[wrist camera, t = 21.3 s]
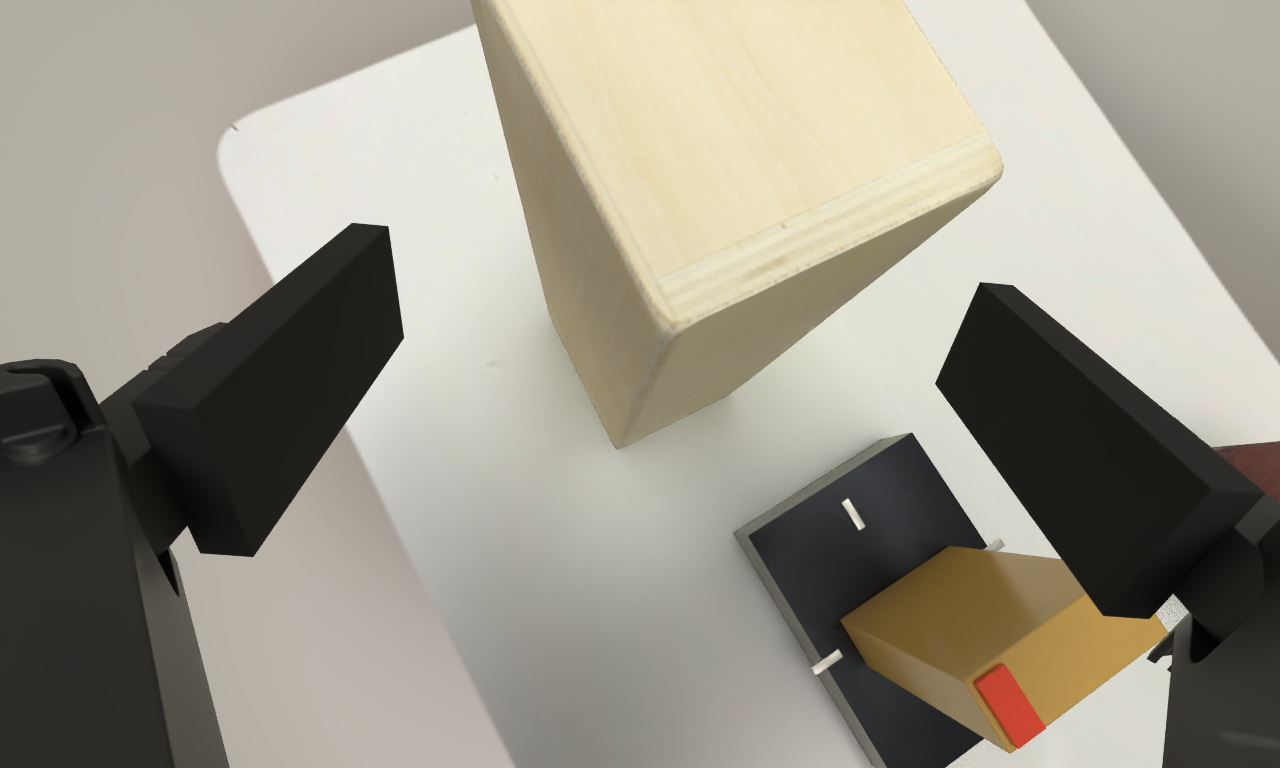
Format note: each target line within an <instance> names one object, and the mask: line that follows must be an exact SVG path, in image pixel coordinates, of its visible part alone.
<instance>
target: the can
mask: <svg viewBox="0 0 1280 768" xmlns="http://www.w3.org/2000/svg"><path fill="white" fill-rule="evenodd" d="M1212 449H1214V450H1215V451H1216V452H1217V453H1218V454H1219V455H1220V456H1222V457H1223V458H1225V459H1226V460H1227V461H1228V462H1229V463H1231V464H1232V465H1233V466H1234V467H1236V468H1237V469H1238V470H1239V471H1240V472H1242V473H1243V474H1244V475H1245V476H1246V477H1248V478H1249V479H1250V480H1251V481H1253V482H1254V483H1255V484H1256V485H1257V486H1259V487H1260V488H1261V489H1262V490H1264V491H1265V492H1266V493H1267V494H1268V495H1270V496H1271V497H1272V498H1273V499H1275V500H1276V501H1277V502H1278V503H1279V504H1280V441H1278V442H1267V443H1256V444H1245V445H1234V446H1223V447H1212Z"/></svg>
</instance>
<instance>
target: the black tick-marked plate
mask: <svg viewBox="0 0 1280 768" xmlns="http://www.w3.org/2000/svg"><path fill="white" fill-rule="evenodd" d="M734 535H735V536H736V538H737V540H738V541H739V543H740V545H741V546H742V548H743V550H744V551H745V553H746V555H747V556H748V558H749V560H750V561H751V563H752V565H753V566H754V568H755V570H756V571H757V573H758V575H759V576H760V578H761V580H762V581H763V583H764V585H765V586H766V588H767V590H768V591H769V593H770V595H771V596H772V598H773V600H774V601H775V603H776V605H777V606H778V608H779V610H780V612H781V613H782V615H783V617H784V618H785V620H786V622H787V623H788V625H789V627H790V628H791V630H792V632H793V633H794V635H795V637H796V638H797V640H798V642H799V643H800V645H801V647H802V648H803V650H804V652H805V653H806V655H807V657H808V658H809V660H810V662H811V663H812V666H811V667H810V668H811V669H812V671H813V673H814V674H815V675H819V677H820V678H821V680H822V682H823V683H824V685H825V687H826V688H827V690H828V692H829V693H830V695H831V697H832V698H833V700H834V702H835V704H836V705H837V707H838V709H839V710H840V712H841V714H842V715H843V717H844V719H845V720H846V722H847V724H848V725H849V727H850V729H851V730H852V732H853V734H854V735H855V737H856V739H857V740H858V742H859V744H860V745H861V747H862V749H863V750H864V752H865V754H866V755H867V757H868V759H869V760H870V762H871V764H872V765H873V767H875V768H945V767H947V766H948V765H949V764H951V763H952V762H953V761H955V760H956V759H957V758H959V757H960V756H961V755H963V754H964V753H965V752H967V751H968V750H969V749H971V748H972V747H974V746H975V745H976V744H978V743H979V742H980V741H982V740H983V739H984V738H983V737H982V736H980V735H978V734H977V733H975V732H974V731H972V730H970V729H969V728H967V727H965V726H964V725H962V724H961V723H959V722H957V721H956V720H954V719H953V718H951V717H949V716H948V715H946V714H944V713H943V712H941V711H940V710H938V709H936V708H935V707H933V706H931V705H930V704H928V703H927V702H925V701H923V700H922V699H920V698H919V697H917V696H915V695H914V694H912V693H910V692H909V691H907V690H906V689H904V688H902V687H901V686H899V685H897V684H896V683H894V682H893V681H891V680H889V679H888V678H886V677H884V676H883V675H881V674H880V673H878V672H876V671H875V670H873V669H872V668H870V667H868V666H867V664H866V662H865V661H864V659H863V658H862V656H861V654H860V653H859V651H858V649H857V648H856V646H855V644H854V643H853V641H852V639H851V638H850V636H849V635H848V633H847V631H846V630H845V628H844V626H843V625H842V623H841V621H840V619H841V618H843V617H844V616H846V615H847V614H849V613H850V612H852V611H853V610H855V609H856V608H858V607H859V606H861V605H862V604H864V603H865V602H867V601H868V600H870V599H871V598H873V597H874V596H876V595H877V594H879V593H880V592H882V591H883V590H885V589H886V588H888V587H889V586H891V585H892V584H893V583H895V582H896V581H898V580H899V579H901V578H902V577H904V576H905V575H907V574H908V573H910V572H911V571H913V570H914V569H916V568H917V567H919V566H920V565H922V564H923V563H925V562H926V561H928V560H929V559H931V558H932V557H934V556H935V555H937V554H938V553H940V552H941V551H943V550H944V549H945V548H947V547H948V546H956V547H964V548H973V549H981V550H989V551H998V550H999V549H1001V548H1002V547H1004V546H1005V545H1004V544H1003V542H1002V541H1001V539H999V538H998V539H996V540H995V541H993V542H992V543H991V544H989V545H988V546H987V545H986V543H985V542H984V540H983V539H982V537H981V536H980V534H979V533H978V531H977V530H976V528H975V527H974V525H973V524H972V522H971V521H970V519H969V518H968V516H967V515H966V513H965V512H964V510H963V509H962V507H961V506H960V504H959V503H958V501H957V500H956V498H955V497H954V495H953V493H952V492H951V490H950V489H949V487H948V486H947V484H946V483H945V481H944V480H943V478H942V477H941V475H940V474H939V472H938V471H937V469H936V468H935V466H934V465H933V463H932V462H931V460H930V459H929V457H928V456H927V454H926V453H925V451H924V450H923V448H922V447H921V445H920V444H919V442H918V441H917V439H916V438H915V436H914V435H913V433H907V434H903V435H899V436H894V437H890V438H885V439H882V440H880V441H878V442H877V443H875V444H874V445H872V446H871V447H869V448H867V449H866V450H864V451H863V452H861V453H859V454H858V455H856V456H855V457H853V458H851V459H850V460H848V461H847V462H845V463H843V464H842V465H840V466H839V467H837V468H836V469H834V470H832V471H831V472H829V473H828V474H826V475H824V476H823V477H821V478H820V479H818V480H816V481H815V482H813V483H812V484H810V485H808V486H807V487H805V488H804V489H802V490H801V491H799V492H797V493H796V494H794V495H793V496H791V497H789V498H788V499H786V500H785V501H783V502H781V503H780V504H778V505H777V506H775V507H773V508H772V509H770V510H769V511H767V512H766V513H764V514H762V515H761V516H759V517H758V518H756V519H754V520H753V521H751V522H750V523H748V524H746V525H745V526H743V527H742V528H740V529H738V530H737V531H735V532H734Z"/></svg>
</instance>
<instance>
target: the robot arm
mask: <svg viewBox="0 0 1280 768" xmlns="http://www.w3.org/2000/svg"><path fill="white" fill-rule="evenodd" d="M403 339H404V334H403V327H402V320H401V313H400V305H399V298H398V291H397V284H396V277H395V270H394V263H393V256H392V249H391V242H390V235H389V227H388V226H379V225H369V224H358V223H351V224H350V225H349V226H348V227H346V228H345V229H344V230H343V231H342V232H340V233H339V234H338V235H337V236H335V237H334V238H333V239H332V240H330V241H329V242H328V243H327V244H325V245H324V246H323V247H322V248H320V249H319V250H318V251H317V252H316V253H314V254H313V255H312V256H311V257H309V258H308V259H307V260H306V261H304V262H303V263H302V264H301V265H299V266H298V267H297V268H296V269H294V270H293V271H292V272H291V273H290V274H288V275H287V276H286V277H285V278H283V279H282V280H281V281H280V282H278V283H277V284H276V285H275V286H273V287H272V288H271V289H270V290H268V291H267V292H266V293H265V294H264V295H263V296H261V297H260V298H259V299H257V300H256V301H255V302H254V303H252V304H251V305H250V306H249V307H248V308H246V309H245V310H244V311H243V312H241V313H240V314H239V315H238V316H236V317H235V318H234V319H233V320H231V321H230V322H229V323H222V322H219V323H217V324H214V325H212V326H210V327H207V328H205V329H203V330H201V331H198V332H196V333H194V334H191V335H189V336H187V337H186V338H185V339H183V340H182V341H181V342H180V343H178V344H177V345H176V346H174V347H173V348H172V349H170V350H169V351H168V352H167V355H166V356H161V357H160V358H159V359H157V360H156V361H155V362H153V363H152V364H151V365H150V366H149V369H148V370H143V371H142V372H140V373H139V374H138V375H136V376H135V377H134V378H133V379H131V380H130V381H129V382H127V383H126V384H125V385H123V386H122V387H121V388H119V389H118V390H117V391H116V392H114V393H113V394H112V395H110V396H109V397H108V398H106V399H105V400H104V401H102V402H101V403H100V404H99V405H98V403H97V401H96V399H95V397H94V395H93V393H92V391H91V389H90V387H89V385H88V383H87V381H86V379H85V378H84V375H83V373H82V372H81V370H80V369H79V368H78V367H77V365H76V364H73V363H69V362H66V361H63V360H59V359H56V360H55V359H32V360H24V361H18V362H10V363H5V364H1V365H0V768H230V767H229V764H228V760H227V756H226V752H225V748H224V744H223V740H222V736H221V732H220V729H219V725H218V720H217V717H216V713H215V709H214V705H213V701H212V697H211V693H210V689H209V685H208V682H207V677H206V673H205V670H204V666H203V662H202V658H201V654H200V650H199V646H198V642H197V638H196V634H195V630H194V626H193V623H192V619H191V615H190V611H189V607H188V603H187V599H186V595H185V591H184V587H183V584H182V579H181V576H180V572H179V568H178V564H177V561H176V559H175V557H174V555H173V553H172V551H171V549H170V545H171V544H172V543H173V542H174V541H175V539H176V538H177V537H178V536H179V535H180V534H181V532H182V531H183V530H184V529H185V528H186V527H187V526H188V528H189V530H190V532H191V534H192V536H193V539H194V541H195V543H196V545H197V547H198V549H199V551H200V553H204V554H217V555H233V556H247V557H254V555H255V554H256V552H257V551H258V550H259V548H260V547H261V545H262V544H263V542H264V541H265V539H266V538H267V536H268V535H269V534H270V532H271V531H272V529H273V528H274V526H275V525H276V523H277V522H278V520H279V519H280V518H281V516H282V515H283V513H284V512H285V510H286V509H287V507H288V506H289V504H290V503H291V502H292V500H293V499H294V497H295V496H296V494H297V493H298V491H299V490H300V488H301V487H302V485H303V484H304V483H305V481H306V480H307V478H308V477H309V475H310V474H311V472H312V471H313V470H314V468H315V466H316V465H317V463H318V462H319V461H320V459H321V458H322V456H323V455H324V454H325V452H326V451H327V449H328V448H329V446H330V445H331V443H332V442H333V440H334V439H335V438H336V436H337V434H338V433H339V431H340V430H341V429H342V427H343V426H344V424H345V423H346V422H347V420H348V419H349V417H350V416H351V414H352V413H353V411H354V410H355V408H356V407H357V406H358V404H359V403H360V401H361V400H362V398H363V397H364V395H365V394H366V393H367V391H368V390H369V388H370V387H371V385H372V384H373V382H374V381H375V379H376V378H377V377H378V375H379V374H380V372H381V371H382V369H383V368H384V366H385V365H386V363H387V362H388V361H389V359H390V358H391V356H392V355H393V353H394V352H395V350H396V349H397V347H398V346H399V345H400V343H401V342H402V340H403ZM935 384H936V386H937V387H938V388H939V390H940V391H941V393H942V394H943V395H944V397H945V398H946V400H947V401H948V402H949V404H950V405H951V406H952V408H953V409H954V411H955V412H956V413H957V415H958V416H959V418H960V419H961V420H962V422H963V423H964V424H965V426H966V427H967V429H968V430H969V431H970V433H971V434H972V436H973V437H974V438H975V440H976V441H977V442H978V444H979V445H980V447H981V448H982V449H983V451H984V452H985V453H986V455H987V456H988V458H989V459H990V460H991V462H992V463H993V465H994V466H995V467H996V469H997V470H998V471H999V473H1000V474H1001V476H1002V477H1003V478H1004V480H1005V481H1006V483H1007V484H1008V485H1009V487H1010V488H1011V489H1012V491H1013V492H1014V494H1015V495H1016V496H1017V498H1018V499H1019V501H1020V502H1021V503H1022V505H1023V506H1024V507H1025V509H1026V510H1027V512H1028V513H1029V514H1030V516H1031V517H1032V519H1033V520H1034V521H1035V523H1036V524H1037V525H1038V527H1039V528H1040V530H1041V531H1042V532H1043V534H1044V535H1045V537H1046V538H1047V539H1048V541H1049V542H1050V543H1051V545H1052V546H1053V548H1054V549H1055V550H1056V552H1057V553H1058V555H1059V556H1060V557H1061V559H1062V560H1063V561H1064V563H1065V564H1066V566H1067V567H1068V568H1069V570H1070V571H1071V573H1072V574H1073V575H1074V577H1075V578H1076V579H1077V581H1078V582H1079V584H1080V585H1081V586H1082V588H1083V589H1084V591H1085V592H1086V593H1087V595H1088V596H1089V597H1090V599H1091V600H1092V602H1093V603H1094V604H1095V606H1096V607H1097V608H1098V610H1099V611H1100V613H1101V614H1102V615H1103V616H1109V617H1123V618H1138V619H1150V618H1151V617H1152V616H1153V615H1154V614H1155V613H1156V612H1157V610H1158V609H1159V608H1160V607H1161V606H1162V605H1163V604H1164V603H1165V602H1166V601H1167V600H1168V599H1169V597H1170V596H1171V595H1172V594H1174V595H1175V596H1176V597H1177V598H1178V599H1179V600H1180V602H1181V603H1182V604H1183V605H1184V606H1185V607H1186V609H1187V610H1188V611H1189V613H1188V614H1187V615H1186V616H1185V617H1184V618H1183V619H1182V620H1181V621H1180V622H1179V623H1178V624H1177V625H1176V626H1175V627H1174V628H1173V629H1172V630H1171V631H1170V632H1169V634H1168V635H1167V636H1166V637H1165V638H1164V639H1163V640H1162V641H1161V642H1160V643H1159V644H1158V645H1157V646H1156V647H1155V648H1154V649H1153V650H1152V651H1151V653H1150V654H1149V656H1148V658H1147V659H1148V660H1150V661H1151V662H1153V663H1156V662H1157V661H1158V660H1159V659H1160V658H1161V657H1162V656H1167V655H1172V665H1171V666H1170V667H1169V668H1168V669H1167V670H1168V671H1169V672H1171V677H1170V688H1169V699H1168V710H1167V721H1166V732H1165V743H1164V754H1163V765H1162V768H1280V504H1279V503H1278V502H1277V501H1276V500H1275V499H1273V498H1272V497H1271V496H1270V495H1268V494H1267V493H1266V492H1265V491H1264V490H1262V489H1261V488H1260V487H1259V486H1257V485H1256V484H1255V483H1254V482H1253V481H1251V480H1250V479H1249V478H1248V477H1246V476H1245V475H1244V474H1243V473H1242V472H1240V471H1239V470H1238V469H1237V468H1236V467H1234V466H1233V465H1232V464H1231V463H1229V462H1228V461H1227V460H1226V459H1225V458H1223V457H1222V456H1220V455H1219V454H1218V453H1217V452H1216V451H1215V450H1214V449H1212V448H1211V447H1210V446H1209V445H1207V444H1206V443H1205V442H1204V441H1202V440H1201V439H1200V438H1198V436H1196V435H1195V434H1194V433H1193V432H1192V431H1190V430H1189V429H1188V428H1187V427H1186V426H1184V425H1183V424H1182V423H1181V422H1179V421H1178V420H1177V419H1176V418H1174V417H1173V416H1172V415H1170V414H1169V413H1168V412H1167V411H1165V410H1164V409H1163V408H1162V407H1161V406H1159V405H1158V404H1157V403H1156V402H1155V401H1153V400H1152V399H1151V398H1150V397H1148V396H1147V395H1146V394H1145V393H1144V392H1142V391H1141V390H1140V389H1139V388H1137V387H1136V386H1135V385H1134V384H1133V383H1131V382H1130V381H1129V380H1128V379H1126V378H1125V377H1124V376H1123V375H1122V374H1120V373H1119V372H1118V371H1117V370H1116V369H1114V368H1113V367H1112V366H1111V365H1109V364H1108V363H1107V362H1106V361H1105V360H1103V359H1102V358H1101V357H1100V356H1098V355H1097V354H1096V353H1095V352H1094V351H1092V350H1091V349H1090V348H1089V347H1088V346H1086V345H1085V344H1084V343H1083V342H1081V341H1080V340H1079V339H1078V338H1077V337H1075V336H1074V335H1073V334H1072V333H1070V332H1069V331H1068V330H1067V329H1066V328H1064V327H1063V326H1062V325H1061V324H1059V323H1058V322H1057V321H1056V320H1055V319H1053V318H1052V317H1051V316H1050V315H1049V314H1047V313H1046V312H1045V311H1044V310H1042V309H1041V308H1040V307H1039V306H1038V305H1036V304H1035V303H1034V302H1033V301H1031V300H1030V299H1029V298H1028V297H1027V296H1025V295H1024V294H1023V293H1022V292H1020V291H1019V290H1018V289H1017V288H1016V287H1014V286H1013V285H1004V284H994V283H983V282H980V283H979V286H978V288H977V290H976V292H975V295H974V297H973V299H972V301H971V304H970V306H969V308H968V311H967V313H966V315H965V317H964V320H963V322H962V324H961V326H960V329H959V331H958V333H957V335H956V338H955V340H954V342H953V344H952V347H951V349H950V351H949V353H948V356H947V358H946V360H945V362H944V365H943V367H942V369H941V372H940V374H939V376H938V378H937V381H936V383H935Z"/></svg>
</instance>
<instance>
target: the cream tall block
mask: <svg viewBox="0 0 1280 768" xmlns="http://www.w3.org/2000/svg"><path fill="white" fill-rule="evenodd" d="M470 1H471V4H472V8H473V12H474V16H475V20H476V24H477V28H478V32H479V35H480V39H481V43H482V47H483V51H484V55H485V59H486V63H487V67H488V71H489V75H490V79H491V83H492V87H493V91H494V95H495V99H496V103H497V107H498V111H499V115H500V119H501V123H502V127H503V131H504V136H505V139H506V143H507V147H508V152H509V156H510V159H511V163H512V167H513V171H514V175H515V179H516V183H517V187H518V191H519V195H520V198H521V202H522V206H523V211H524V215H525V219H526V223H527V227H528V231H529V236H530V240H531V244H532V248H533V252H534V255H535V259H536V263H537V267H538V271H539V275H540V279H541V283H542V287H543V291H544V295H545V299H546V303H547V307H548V311H549V314H550V317H551V319H552V321H553V324H554V326H555V328H556V330H557V332H558V334H559V336H560V338H561V340H562V342H563V344H564V346H565V348H566V350H567V352H568V354H569V356H570V359H571V361H572V363H573V365H574V367H575V369H576V371H577V373H578V375H579V377H580V379H581V381H582V383H583V385H584V387H585V389H586V391H587V393H588V395H589V397H590V399H591V401H592V403H593V405H594V407H595V409H596V411H597V413H598V415H599V417H600V419H601V421H602V423H603V425H604V427H605V429H606V431H607V433H608V435H609V437H610V439H611V441H612V443H613V445H614V446H615V448H616V449H620V448H622V447H624V446H626V445H628V444H630V443H632V442H634V441H636V440H638V439H640V438H642V437H644V436H646V435H648V434H650V433H653V432H655V431H657V430H659V429H661V428H662V427H665V426H667V425H669V424H671V423H673V422H675V421H677V420H679V419H681V418H683V417H685V416H687V415H689V414H691V413H693V412H695V411H697V410H699V409H701V408H703V407H705V406H707V405H709V404H711V403H713V402H715V401H717V400H719V399H721V398H723V397H725V396H727V395H729V394H730V393H732V392H733V391H734V390H736V389H737V388H738V387H740V386H741V385H742V384H744V383H745V382H746V381H748V380H749V379H750V378H751V377H753V376H754V375H755V374H757V373H758V372H759V371H761V370H762V369H763V368H764V367H766V366H767V365H768V364H769V363H771V362H772V361H773V360H775V359H776V358H777V357H778V356H780V355H781V354H782V353H784V352H785V351H786V350H787V349H789V348H790V347H791V346H792V345H794V344H795V343H796V342H797V341H799V340H800V339H801V338H802V337H804V336H805V335H806V334H807V333H809V332H810V331H811V330H812V329H814V328H815V327H816V326H818V325H819V324H820V323H821V322H823V321H824V320H825V319H826V318H827V317H829V316H830V315H831V314H833V313H834V312H835V311H836V310H838V309H839V308H840V307H842V306H843V305H844V304H845V303H847V302H848V301H849V300H851V299H852V298H853V297H854V296H856V295H857V294H858V293H860V292H861V291H862V290H863V289H865V288H866V287H867V286H868V285H870V284H871V283H872V282H874V281H875V280H876V279H877V278H879V277H880V276H881V275H882V274H884V273H885V272H886V271H887V270H889V269H890V268H891V267H893V266H894V265H895V264H896V263H898V262H899V261H900V260H902V259H903V258H904V257H905V256H907V255H908V254H909V253H911V252H912V251H913V250H914V249H916V248H917V247H918V246H919V245H921V244H922V243H923V242H924V241H926V240H927V239H928V238H929V237H931V236H932V235H933V234H934V233H936V232H937V231H938V230H939V229H941V228H942V227H943V226H945V225H946V224H947V223H948V222H950V221H951V220H952V219H953V218H955V217H956V216H957V215H958V214H960V213H961V212H962V211H963V210H965V209H966V208H967V207H968V206H970V205H971V204H972V203H974V202H975V201H976V200H977V199H979V198H980V197H981V196H982V195H984V194H985V193H986V192H987V191H988V190H989V189H990V188H991V187H992V186H993V185H994V184H995V183H996V182H997V181H998V180H999V179H1000V178H1001V176H1002V173H1003V170H1004V166H1003V163H1002V160H1001V157H1000V154H999V152H998V150H997V148H996V147H995V145H994V143H993V141H992V139H991V137H990V135H989V134H988V132H987V131H986V129H985V127H984V126H983V124H982V123H981V121H980V120H979V118H978V117H977V115H976V114H975V112H974V110H973V109H972V107H971V106H970V104H969V103H968V101H967V100H966V98H965V97H964V95H963V93H962V92H961V90H960V89H959V87H958V86H957V84H956V83H955V81H954V80H953V78H952V76H951V75H950V73H949V72H948V70H947V69H946V67H945V66H944V64H943V63H942V61H941V59H940V58H939V56H938V55H937V53H936V52H935V50H934V49H933V47H932V45H931V44H930V42H929V41H928V39H927V38H926V36H925V34H924V33H923V31H922V30H921V28H920V27H919V25H918V23H917V22H916V20H915V19H914V17H913V16H912V14H911V13H910V11H909V9H908V8H907V6H906V5H905V3H904V2H903V0H470Z"/></svg>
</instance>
